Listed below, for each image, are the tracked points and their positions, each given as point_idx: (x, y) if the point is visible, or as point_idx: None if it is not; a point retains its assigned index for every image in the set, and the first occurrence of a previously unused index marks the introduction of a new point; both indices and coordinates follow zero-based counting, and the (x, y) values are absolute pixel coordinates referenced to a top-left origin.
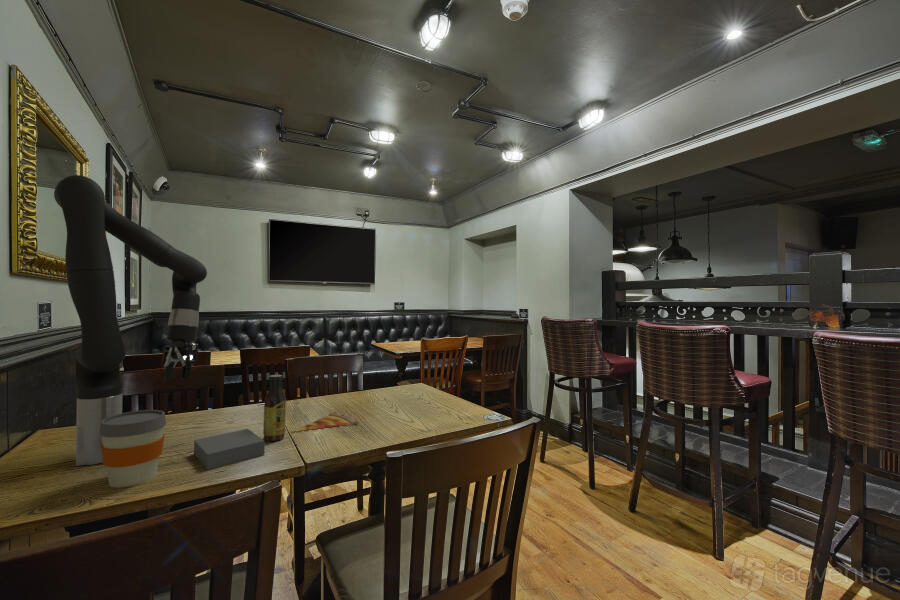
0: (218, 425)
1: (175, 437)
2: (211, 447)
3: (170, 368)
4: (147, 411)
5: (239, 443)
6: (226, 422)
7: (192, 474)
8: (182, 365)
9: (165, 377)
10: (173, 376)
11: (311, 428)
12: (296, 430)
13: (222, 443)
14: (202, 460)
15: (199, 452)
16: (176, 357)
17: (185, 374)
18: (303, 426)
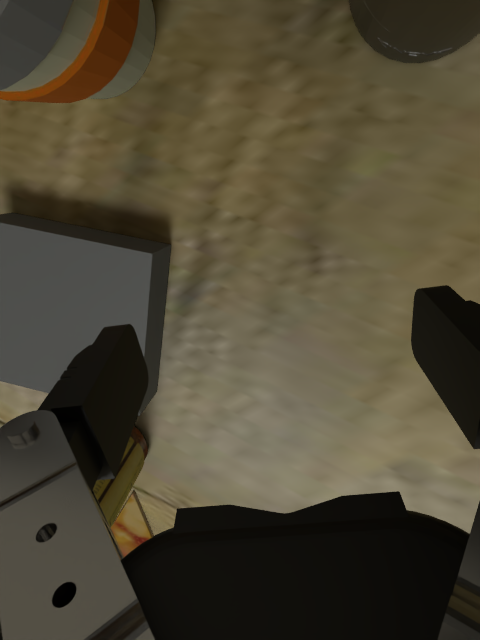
0: (413, 434)
1: (418, 282)
2: (31, 255)
3: (475, 399)
4: (1, 3)
5: (12, 325)
6: (422, 465)
7: (8, 171)
8: (51, 414)
9: (425, 295)
10: (425, 373)
11: (117, 533)
12: (132, 507)
13: (46, 294)
14: (59, 225)
15: (87, 234)
16: (261, 529)
17: (72, 367)
18: (149, 535)
